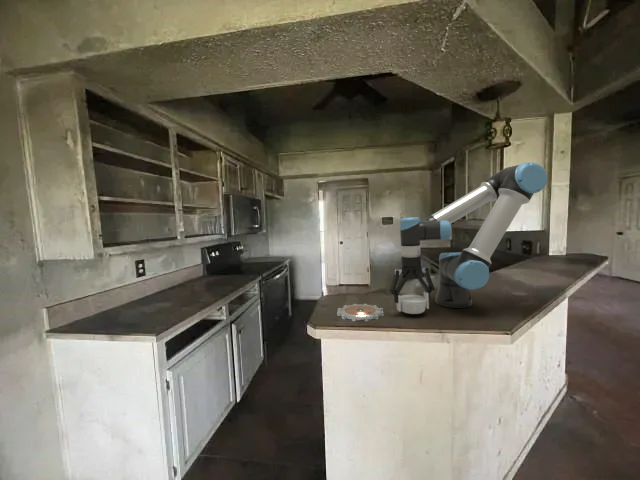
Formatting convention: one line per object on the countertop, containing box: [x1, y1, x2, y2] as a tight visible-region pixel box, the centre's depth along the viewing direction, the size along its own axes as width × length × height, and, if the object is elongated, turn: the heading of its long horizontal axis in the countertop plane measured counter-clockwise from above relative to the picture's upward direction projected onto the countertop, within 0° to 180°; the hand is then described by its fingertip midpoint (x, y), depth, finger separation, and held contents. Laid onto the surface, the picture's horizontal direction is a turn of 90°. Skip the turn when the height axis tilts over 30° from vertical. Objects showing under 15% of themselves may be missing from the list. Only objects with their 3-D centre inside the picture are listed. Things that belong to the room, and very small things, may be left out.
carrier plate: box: [336, 303, 385, 322], centre depth 133 cm, size 19×19×2 cm
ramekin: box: [400, 294, 427, 315], centre depth 129 cm, size 11×11×5 cm
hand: (412, 309), depth 129 cm, fingers closed on ramekin, 11 cm apart
